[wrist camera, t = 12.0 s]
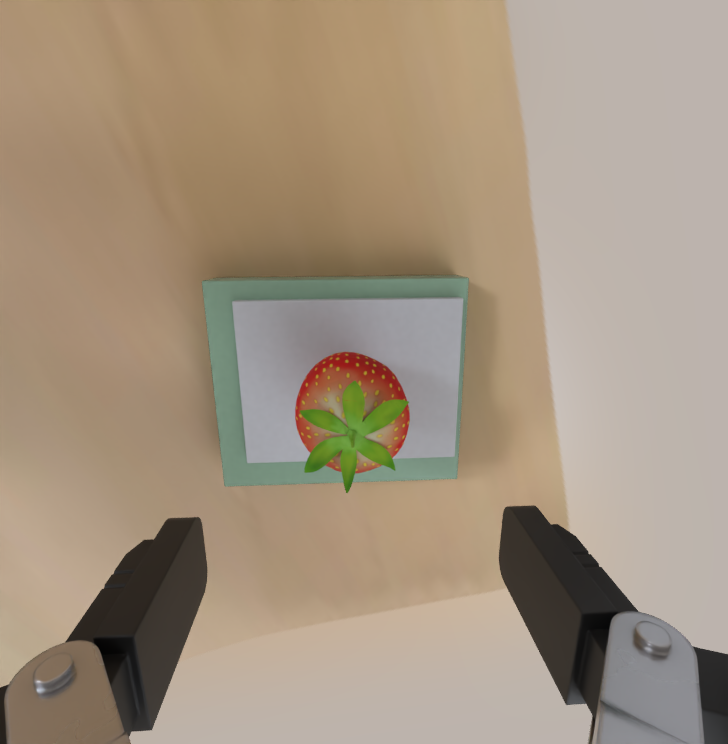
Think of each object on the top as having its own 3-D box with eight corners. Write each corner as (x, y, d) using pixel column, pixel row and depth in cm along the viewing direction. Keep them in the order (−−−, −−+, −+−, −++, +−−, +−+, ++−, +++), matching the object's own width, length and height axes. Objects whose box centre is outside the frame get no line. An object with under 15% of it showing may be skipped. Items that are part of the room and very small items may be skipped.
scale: (234, 470, 28) (222, 496, 25) (215, 277, 25) (197, 281, 22) (447, 463, 29) (459, 488, 26) (457, 274, 25) (472, 278, 22)
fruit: (413, 402, 24) (446, 475, 16) (331, 443, 24) (327, 533, 17) (368, 317, 23) (382, 353, 15) (283, 363, 23) (253, 420, 15)
